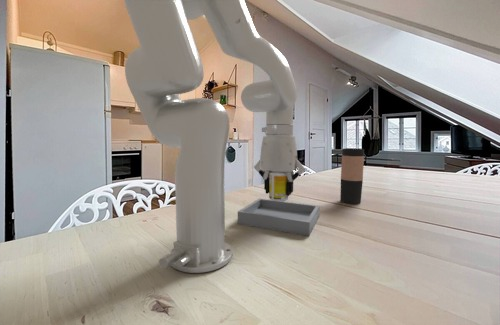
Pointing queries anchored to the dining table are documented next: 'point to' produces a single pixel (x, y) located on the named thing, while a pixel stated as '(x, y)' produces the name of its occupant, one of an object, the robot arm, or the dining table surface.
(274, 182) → the supplement bottle
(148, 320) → the dining table surface
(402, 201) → the dining table surface
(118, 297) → the dining table surface
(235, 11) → the robot arm
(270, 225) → the tray
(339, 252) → the dining table surface
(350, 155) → the travel mug
